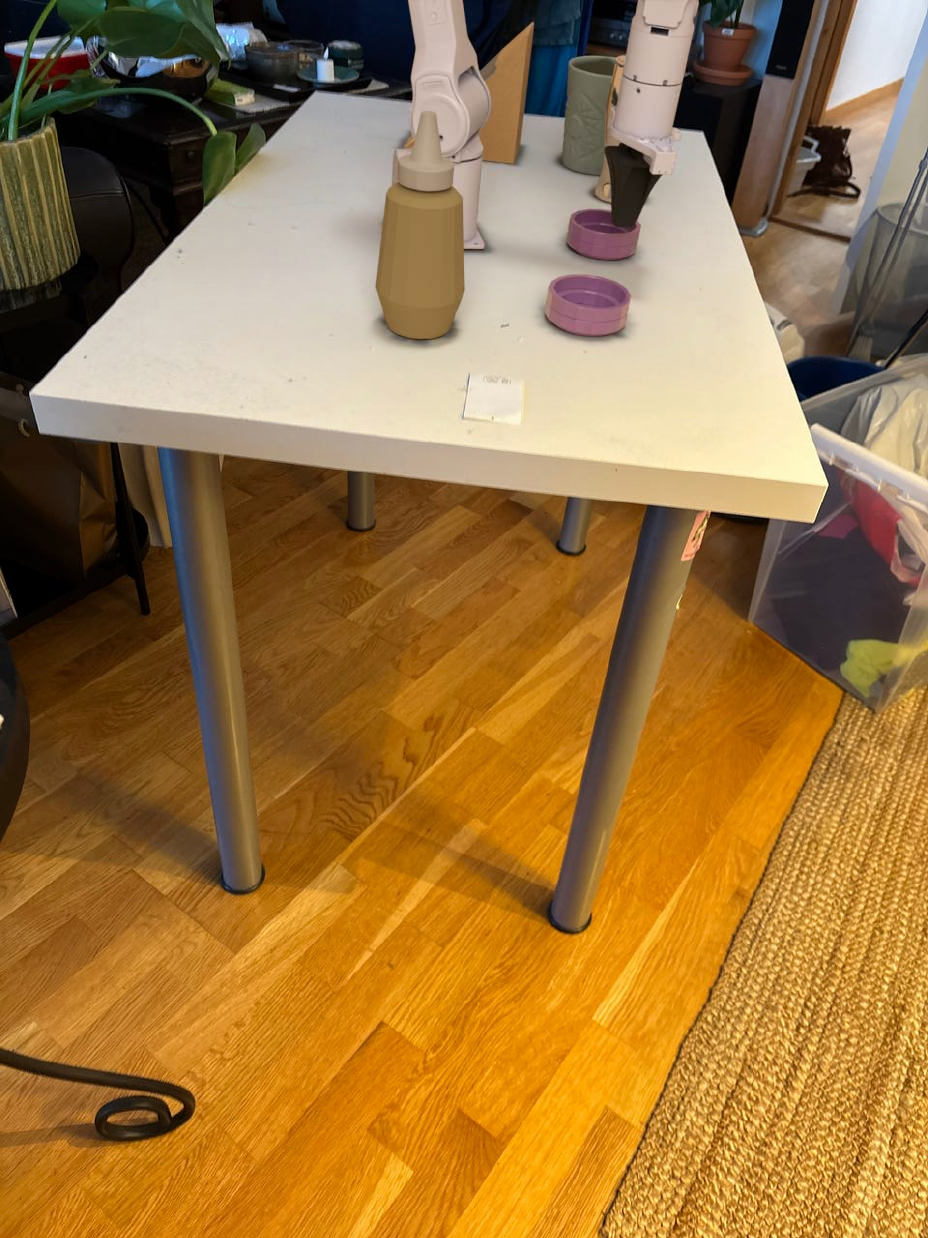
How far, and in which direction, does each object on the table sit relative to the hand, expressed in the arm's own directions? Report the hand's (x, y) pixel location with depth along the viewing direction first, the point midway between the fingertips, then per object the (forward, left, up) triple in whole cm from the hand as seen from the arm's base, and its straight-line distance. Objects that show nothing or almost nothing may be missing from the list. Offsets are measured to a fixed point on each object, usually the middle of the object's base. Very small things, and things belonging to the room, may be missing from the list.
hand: (622, 224), depth 95 cm
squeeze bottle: (-23, -14, -5) cm, 27 cm away
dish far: (0, +5, -5) cm, 7 cm away
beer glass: (+8, +22, -5) cm, 24 cm away
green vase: (+8, +34, -5) cm, 36 cm away
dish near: (-7, -13, -5) cm, 15 cm away
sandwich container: (-9, +40, -5) cm, 42 cm away
